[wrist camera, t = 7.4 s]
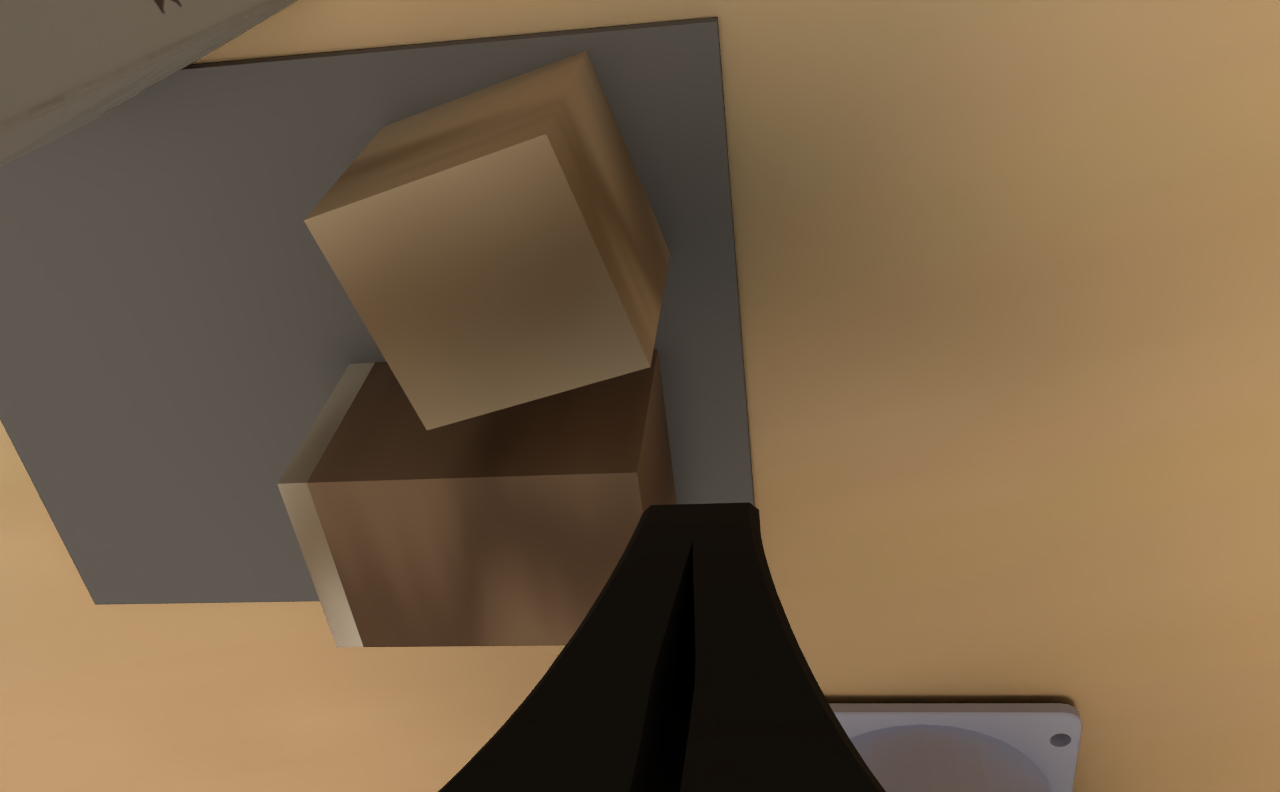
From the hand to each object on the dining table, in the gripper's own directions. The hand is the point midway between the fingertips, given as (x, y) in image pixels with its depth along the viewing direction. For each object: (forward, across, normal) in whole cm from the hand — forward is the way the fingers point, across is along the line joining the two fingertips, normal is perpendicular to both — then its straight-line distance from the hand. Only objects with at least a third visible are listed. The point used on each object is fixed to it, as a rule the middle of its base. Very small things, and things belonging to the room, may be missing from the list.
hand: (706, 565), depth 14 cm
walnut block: (+8, +9, +5) cm, 13 cm away
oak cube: (+10, +4, -1) cm, 11 cm away
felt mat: (+10, +9, +3) cm, 14 cm away
